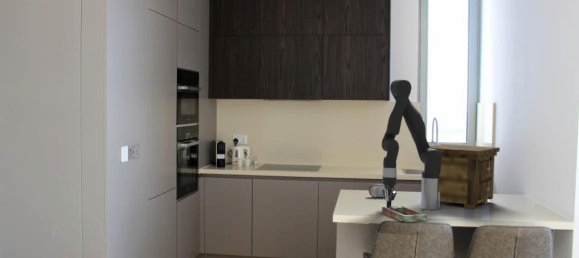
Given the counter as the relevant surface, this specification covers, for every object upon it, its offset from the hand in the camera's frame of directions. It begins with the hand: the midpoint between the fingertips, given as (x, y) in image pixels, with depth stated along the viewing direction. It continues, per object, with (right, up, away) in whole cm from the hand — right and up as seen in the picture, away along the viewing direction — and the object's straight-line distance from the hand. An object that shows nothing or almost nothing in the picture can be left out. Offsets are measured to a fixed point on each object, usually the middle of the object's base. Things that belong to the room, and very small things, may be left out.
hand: (388, 207), depth 309 cm
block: (+2, -2, -7) cm, 8 cm away
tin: (+3, 0, +43) cm, 43 cm away
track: (+5, -2, -16) cm, 17 cm away
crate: (+46, -1, +28) cm, 54 cm away
